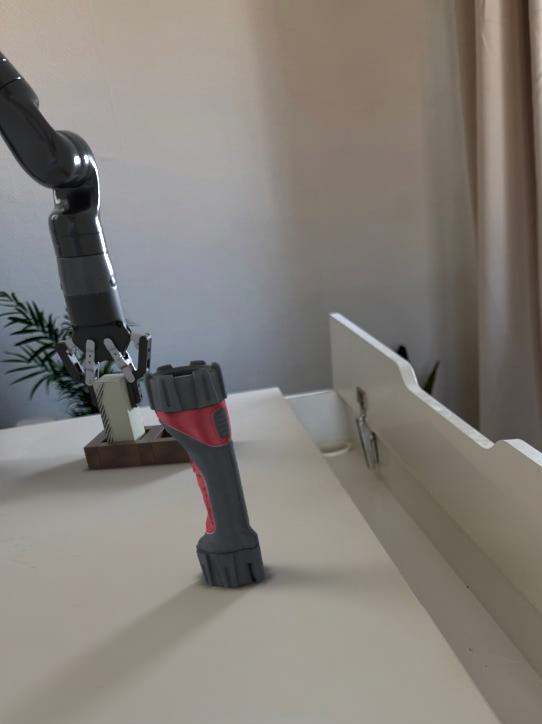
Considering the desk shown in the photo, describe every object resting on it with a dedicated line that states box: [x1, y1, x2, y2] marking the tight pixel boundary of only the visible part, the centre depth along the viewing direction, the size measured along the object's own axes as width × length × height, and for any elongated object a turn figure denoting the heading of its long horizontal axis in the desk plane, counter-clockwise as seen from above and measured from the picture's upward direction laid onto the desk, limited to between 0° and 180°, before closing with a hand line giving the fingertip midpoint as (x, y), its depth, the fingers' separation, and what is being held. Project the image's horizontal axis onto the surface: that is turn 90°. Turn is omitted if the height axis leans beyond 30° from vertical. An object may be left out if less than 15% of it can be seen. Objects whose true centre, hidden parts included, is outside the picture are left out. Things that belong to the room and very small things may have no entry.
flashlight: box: [142, 359, 267, 589], centre depth 101 cm, size 8×8×23 cm
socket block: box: [82, 424, 193, 471], centre depth 149 cm, size 18×10×4 cm, turn 92°
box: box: [93, 372, 146, 442], centre depth 147 cm, size 5×4×13 cm
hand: (119, 407), depth 146 cm, fingers closed on box, 4 cm apart
